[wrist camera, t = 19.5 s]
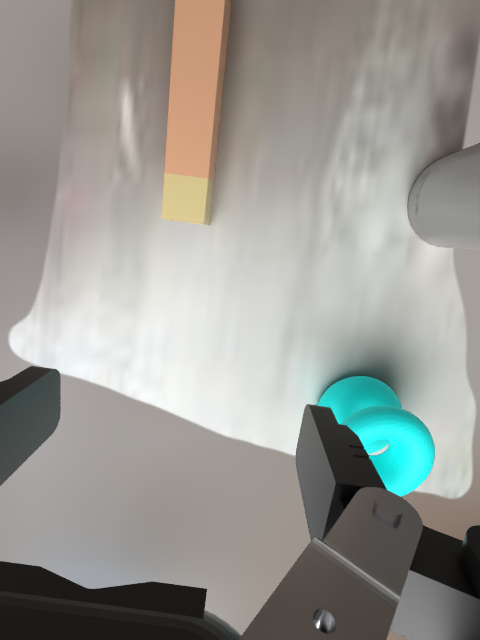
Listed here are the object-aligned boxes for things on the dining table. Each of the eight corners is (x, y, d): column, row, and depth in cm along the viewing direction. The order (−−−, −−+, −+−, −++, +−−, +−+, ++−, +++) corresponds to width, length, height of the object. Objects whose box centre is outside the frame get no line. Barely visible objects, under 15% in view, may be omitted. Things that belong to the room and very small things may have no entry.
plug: (231, 5, 31) (228, -37, 26) (209, 225, 36) (203, 223, 31) (188, -1, 31) (178, -44, 26) (173, 220, 36) (161, 218, 31)
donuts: (443, 411, 30) (439, 503, 33) (396, 368, 40) (395, 441, 42) (332, 420, 31) (335, 510, 33) (311, 375, 40) (315, 447, 43)
